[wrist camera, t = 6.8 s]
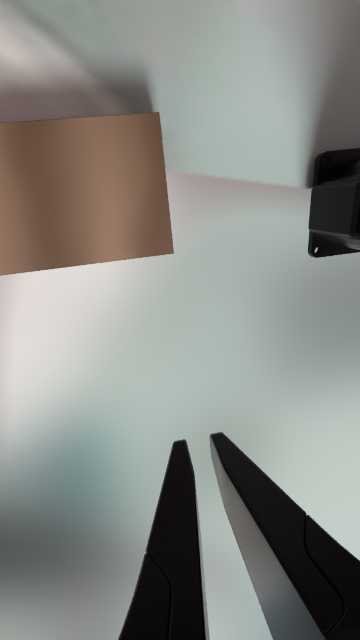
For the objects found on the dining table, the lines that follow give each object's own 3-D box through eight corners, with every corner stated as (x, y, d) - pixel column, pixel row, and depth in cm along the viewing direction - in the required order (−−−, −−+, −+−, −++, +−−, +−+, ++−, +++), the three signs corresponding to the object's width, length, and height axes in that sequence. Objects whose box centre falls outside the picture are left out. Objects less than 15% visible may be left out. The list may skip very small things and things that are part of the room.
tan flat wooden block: (156, 121, 16) (159, 112, 14) (169, 249, 18) (173, 253, 17) (-78, 138, 14) (-105, 130, 13) (-25, 273, 17) (-42, 280, 15)
